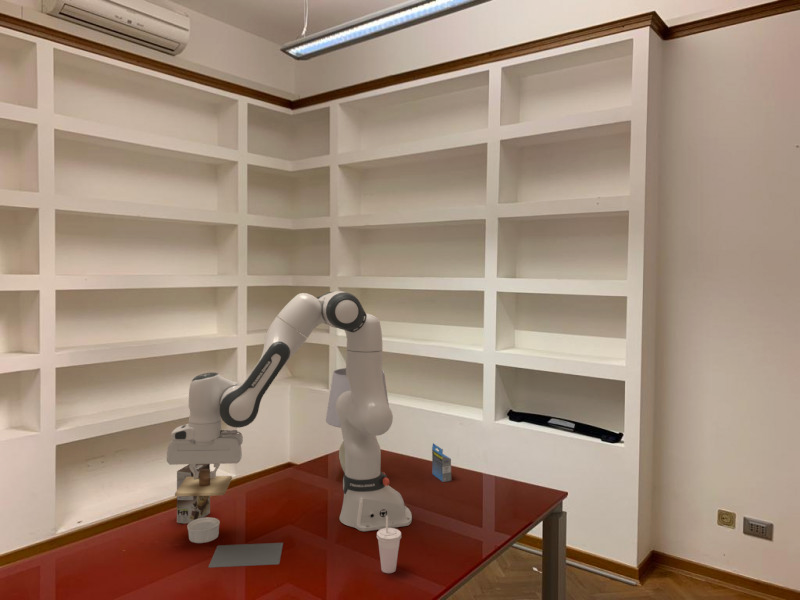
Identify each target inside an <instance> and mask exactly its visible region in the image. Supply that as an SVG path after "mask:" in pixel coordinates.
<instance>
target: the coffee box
mask: <svg viewBox="0 0 800 600" xmlns="http://www.w3.org/2000/svg"><path fill="white" fill-rule="evenodd" d="M210 465H211V464H196V466H195V468H196V470H197V471H199V470H201V469H210V470H211V466H210ZM186 477H193V473H192V471H191V470H190V468H189V464H186V465H184V467H182V468H180V469H178V470H177V471H176V491H177V490H178V488H179V487H180V486H181V484H182V483H183V481H184V480H185V478H186ZM210 513H211V496H176V523H178V524H185V525H186V524H189V523H190V522H191V521H193V520H196V519H199V518H206V517H207V516H208V515H209V514H210Z"/></svg>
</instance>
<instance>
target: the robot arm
mask: <svg viewBox="0 0 800 600" xmlns="http://www.w3.org/2000/svg"><path fill="white" fill-rule="evenodd" d="M321 324H325V325H328V326H329V327H331V328H334V329H339V330H343V331H344V332H345V335H346V355H345V356H346V357H345V358H346V359H345V360H346V361H345V364H346V365H345V368H346V376H347V379H348V381H349V384H350V388H351V391H346V392H344V393H342V394H341V395H340V396H339V398H338V399H337V402H336V411H337V413H338V416H339V419H340V424H341V428H340V429H341V435H342V440H343V441H344V447H345V473H344V472H343V477H342V490H343V501H342V507H341V512H340V515H339V521H340V522H341V524H343V525H346V526H347V527H351V528H355V529H357V530H358V531H360V532H369V531H377V530H378V531H379V530H380V529H383V528H386V516H388V528H399V527H406V526H409V525H410V524H411V523H412V521H413V514H412V512H411V510H410V508H409V507H407V506H406V505H405V502H404V499H403V497H402V495H401V493H400V492H399V491H397V490H396V489H395V488H393V487H391V486H390V479H389V478H388V476H387V474H386V473H385V472H384V471H383V472H382V471H381V466H382V465H381V457H382V455H381V454H382V453H381V452H382V451H381V446H380V443H379V442H378V439H377V436H381V435H383V434H385V433H387V432H388V431H389V430H390V428H391V427H392V424H393V419H394V417H393V412H392V409H391V408H390V405H389V406H388V404H389V402H388V403H387V399H386V394H385V389H384V384H383V377H382V370H383V336H382V335H383V333H382V327H381V321H380V320H379V318H378V317H377V316H375V315H374V314H371V313H367V312H366V311H365V309H364V307H363V305H362V303H361V302H360V300H359V299H358V297H357V296H355V295H354V294H352V293H349V292H347V291H342V290H335V291H330V292H327V293H324V294H322V295H320V296H317V297H316V296H314V295H312V294H310V293H306V292H302V293H301V292H300V293H298V294H296V295H295V296H294V297H293V298H292V299H290V301H289V302H287V304H286V305H284V307H283V308H282V309H281V310H280V311H279V313H278V314H277V316H276V317H275V318H274V319H273V320H272V322H271V324H270V326H269V327H268V329H267V331H266V334H265V336H264V341H263V342H264V344H263V349H262V353H261V357H260V358H259V360H258V362H257V364H256V365H255V366H254V367H253V368H252V371H250V373H249V375H248V377H246V379H245V380H244V381H243V383H242V382H238V381H234V380H230V379H228V378H226V377H223V376H222V375H221V374H219V373H218V372H213V371H212V372H206V373H202V374H199V375H196V376H195V377H193V379H192V380H191V382H190V384H189V389H188V408H189V418H188V423H186V424H183V425H179V426H177V427H175V429H173V430H172V431H171V434H170V439H171V440H170V442H169V443H168V446H167V448H166V449H167V450H166V463H167V464H169V465H171V466H172V465H176V466H177V465H189V468H190V470H191V471H192V473H193V479H199V471H197V470H196V468H195V466H196V464H210V465H213V468H214V470H210V475H209V476H210V477H209V478H210V479H215V478H216V476H217V472H218V469H219V467H220V466H221V465H223V464H224V465H225V464H226V465H227V464H238V463H240V462H241V460H242V458H243V457H242V456H243V455H242V450H243V449H242V444H243V439H244V438H243V434H242V433H241V432H240V431H238V430H236V429H237V428H239V429H240V428H244V427H247V426H249V425H250V424H252V423H253V422H254V420H255V419H256V418H257V415H258V413H259V411H260V410H259V409H260V404H261V402H262V399H263V397H264V395H265V394H266V393H267V391H268V389H269V388H270V386H271V385H272V383H273V382H274V380H275V379H276V378H277V376H278V374H279V373H280V372H281V370H282V369H283V367H285V365H286V364H287V363H288V362H289V360H290V359H292V357H293V356H294V355H295V354H296V353H297V352H298V350H300V348H301V347H302V346H303V344H305V342H306V341H307V340H308V338H309V336H310V335H311V334H312V332H313V331H314V330H315V329H316V328H317V327H318V326H320V325H321ZM222 421H223V423H225V424H226V425H227V426H229V427H232V428H236V429H232V430H228V429H225V430H224V429H223V430H222Z"/></svg>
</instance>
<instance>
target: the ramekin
mask: <svg viewBox="0 0 800 600" xmlns="http://www.w3.org/2000/svg"><path fill="white" fill-rule="evenodd" d="M220 525H221V521H220V520H219V519H218V518H215V517H207V516H206V517H204V518H199V519H196V520H193V521H191V522H190V523H187V525H186V527H187V533H188V539H189V542H191V543H195V544H203V543H209V542H212V541H214V540H216V539H217V538H218V537H219V534H220V532H219V530H220Z"/></svg>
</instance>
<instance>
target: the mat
mask: <svg viewBox="0 0 800 600" xmlns="http://www.w3.org/2000/svg"><path fill="white" fill-rule="evenodd" d="M283 546H284V542H269V543H268V542H267V543H266V542H265V543H246V544H245V543H241V544H225V545H224V544H223V545H221V544H220V545H219V544H218V545H217V546H216V548H215V551H214V552H213V555H212V557H211V560H210V563H209V564H208V568H229V567H230V568H231V567H251V566H269V565H270V566H272V565H273V566H274V565H280V562H281V558H282V557H281V556H282V552H283V551H282V550H283Z"/></svg>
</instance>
